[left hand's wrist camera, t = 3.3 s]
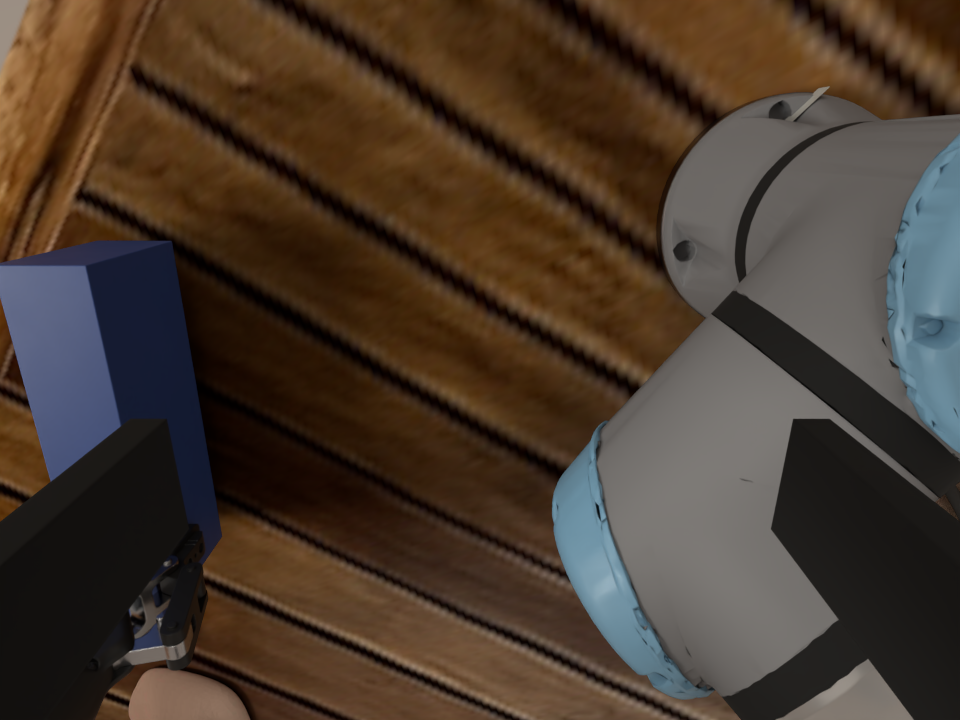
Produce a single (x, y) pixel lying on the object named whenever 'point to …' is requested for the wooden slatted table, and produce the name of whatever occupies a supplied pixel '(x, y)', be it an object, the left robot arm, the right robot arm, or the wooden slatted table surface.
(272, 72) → the wooden slatted table surface
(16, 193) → the wooden slatted table surface
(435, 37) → the wooden slatted table surface
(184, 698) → the anatomical model
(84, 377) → the bar
